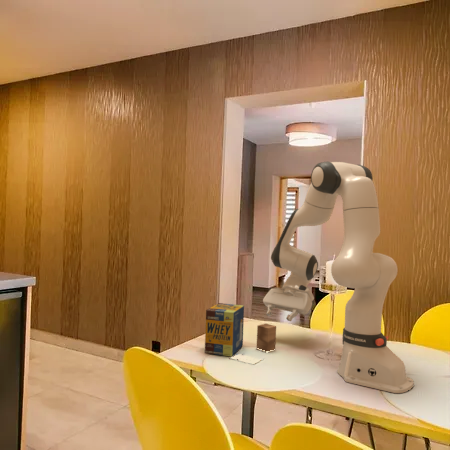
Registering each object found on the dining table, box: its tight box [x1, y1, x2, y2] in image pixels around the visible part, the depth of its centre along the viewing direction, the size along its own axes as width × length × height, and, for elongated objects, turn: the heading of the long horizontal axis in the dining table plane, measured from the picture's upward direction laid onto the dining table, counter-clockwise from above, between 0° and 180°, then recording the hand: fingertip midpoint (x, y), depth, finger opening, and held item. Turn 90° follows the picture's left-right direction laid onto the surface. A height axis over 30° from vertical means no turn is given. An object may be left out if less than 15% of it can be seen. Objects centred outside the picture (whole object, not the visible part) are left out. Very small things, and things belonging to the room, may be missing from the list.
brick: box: [256, 323, 277, 351], centre depth 153 cm, size 5×5×9 cm
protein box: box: [204, 302, 245, 357], centre depth 151 cm, size 10×15×16 cm
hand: (278, 317), depth 159 cm, fingers open, 8 cm apart
